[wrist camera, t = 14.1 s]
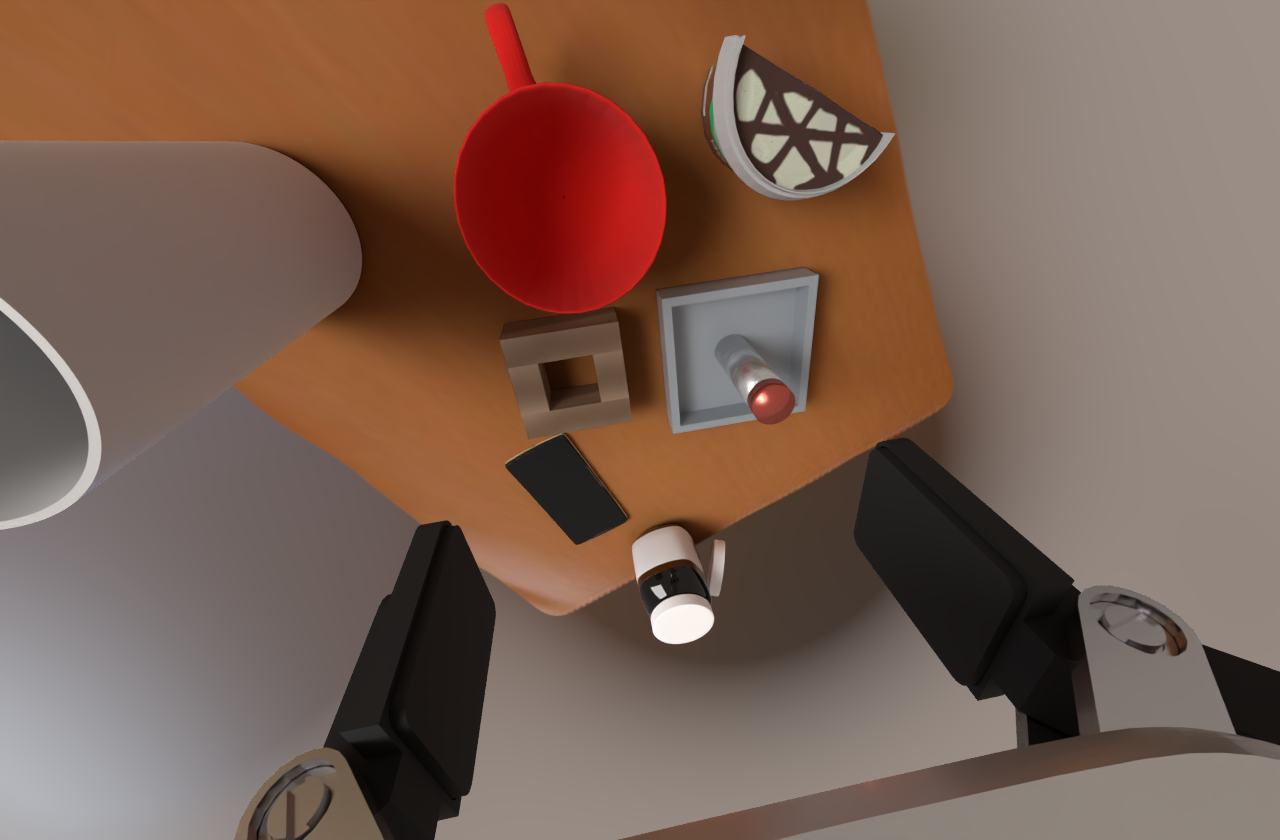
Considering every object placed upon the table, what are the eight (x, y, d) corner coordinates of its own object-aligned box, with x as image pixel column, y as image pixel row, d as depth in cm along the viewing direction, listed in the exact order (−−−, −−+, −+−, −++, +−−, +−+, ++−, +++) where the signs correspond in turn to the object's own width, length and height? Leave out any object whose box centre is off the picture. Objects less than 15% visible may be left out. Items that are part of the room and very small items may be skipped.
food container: (656, 149, 35) (686, 151, 27) (691, 58, 33) (736, 29, 24) (783, 214, 39) (843, 234, 31) (824, 138, 37) (901, 137, 28)
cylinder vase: (324, 344, 40) (50, 575, 18) (150, 246, 34) (-523, 416, 13) (395, 227, 36) (151, 351, 15) (212, 95, 30) (-603, -12, 9)
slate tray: (655, 289, 41) (661, 299, 39) (803, 266, 42) (818, 274, 40) (667, 418, 49) (673, 433, 46) (792, 397, 50) (805, 410, 47)
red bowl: (598, 0, 30) (612, -55, 22) (661, 251, 40) (688, 280, 31) (418, 63, 31) (363, 33, 22) (521, 297, 40) (510, 339, 31)
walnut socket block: (504, 324, 41) (499, 340, 37) (613, 307, 41) (618, 321, 38) (530, 417, 46) (528, 438, 43) (627, 400, 47) (632, 421, 43)
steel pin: (714, 337, 44) (754, 390, 35) (748, 331, 44) (797, 383, 35) (715, 368, 46) (753, 427, 36) (747, 363, 46) (793, 420, 37)
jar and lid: (621, 530, 56) (633, 612, 47) (705, 496, 55) (736, 573, 46) (655, 585, 63) (672, 667, 53) (731, 555, 62) (763, 633, 52)
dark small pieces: (562, 433, 47) (629, 521, 55) (562, 427, 48) (628, 515, 56) (502, 465, 48) (576, 547, 56) (503, 458, 49) (576, 540, 57)
